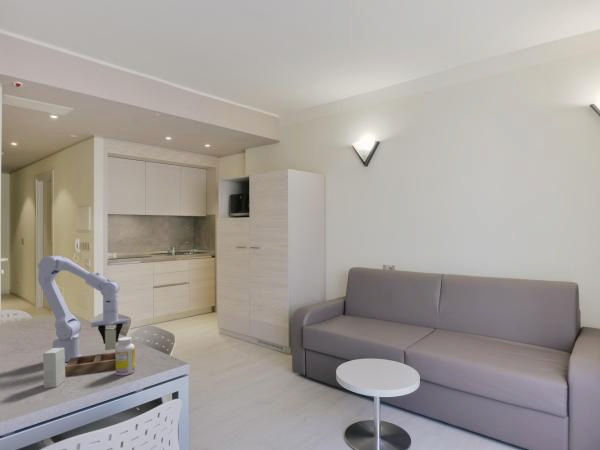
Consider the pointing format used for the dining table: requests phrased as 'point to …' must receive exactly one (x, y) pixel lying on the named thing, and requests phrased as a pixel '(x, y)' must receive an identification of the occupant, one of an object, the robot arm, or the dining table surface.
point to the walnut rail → (90, 364)
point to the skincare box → (54, 367)
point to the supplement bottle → (125, 356)
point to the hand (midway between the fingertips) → (110, 342)
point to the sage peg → (110, 339)
